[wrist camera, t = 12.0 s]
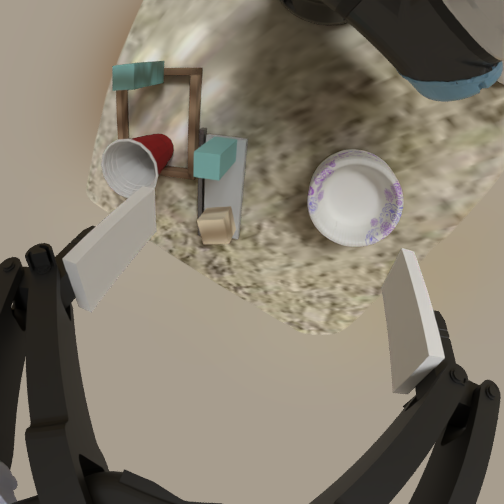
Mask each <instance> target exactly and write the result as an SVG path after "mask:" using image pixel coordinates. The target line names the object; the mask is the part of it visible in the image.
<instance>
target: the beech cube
mask: <svg viewBox="0 0 504 504" xmlns="http://www.w3.org/2000/svg"><path fill="white" fill-rule="evenodd" d="M197 223H198V227H199V230H200V234H201V237H202V241H203V244H229V243H230V241H231V239H232V237H233V235H234V233H235V231H236V226H235V222H234V217H233V213H232V208H231V206H227V207H212V208H206V209H205V210H204V212H203V213H202V214H201V216H200V217H199V218H198V220H197Z"/></svg>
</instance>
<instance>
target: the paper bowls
mask: <svg viewBox="0 0 504 504" xmlns="http://www.w3.org/2000/svg"><path fill="white" fill-rule="evenodd" d="M307 206H308V212H309V216H310V218H311V220H312V222H313V224H314V225H315V227H316V228H317V229H318V230H319V232H320V233H321V234H323V235H324V236H325V237H326V238H328V239H329V240H331V241H333V242H335V243H338V244H341V245H344V246H350V247H361V246H367V245H371V244H374V243H376V242H378V241H380V240H382V239H383V238H385V237H386V236H387V235H389V234H390V233H391V232H392V230H393V229H394V228H395V227H396V225H397V223H398V222H399V220H400V217H401V214H402V210H403V193H402V189H401V186H400V183H399V181H398V179H397V178H396V176H395V174H394V173H393V171H392V170H391V168H390V167H389V166H388V165H387V163H386V162H385V161H383V160H382V159H381V158H379V157H378V156H376V155H374V154H372V153H370V152H367V151H364V150H357V149H349V150H343V151H340V152H337V153H335V154H333V155H331V156H329V157H328V158H326V159H325V160H324V161H323V162H322V163H321V164H320V165H319V166H318V167H317V169H316V170H315V172H314V174H313V176H312V179H311V182H310V185H309V191H308V197H307Z"/></svg>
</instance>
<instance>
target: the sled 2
mask: <svg viewBox="0 0 504 504" xmlns="http://www.w3.org/2000/svg"><path fill="white" fill-rule="evenodd" d="M247 143H248V139H246V138H239V137H231V136H223V135H214V134H208V135H206V143H205V144H203V145H202V146H201V147H199V148H198V149H197V150H195V151H194V177H198V178H205V195H204V210H205V209H206V208H212V207H227V206H231V208H232V213H233V217H234V222H235V226H236V231H235V233H234V235H233V237H232V238H233V239H238V238H239V232H240V221H241V209H242V197H243V186H244V175H245V164H246V153H247Z"/></svg>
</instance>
